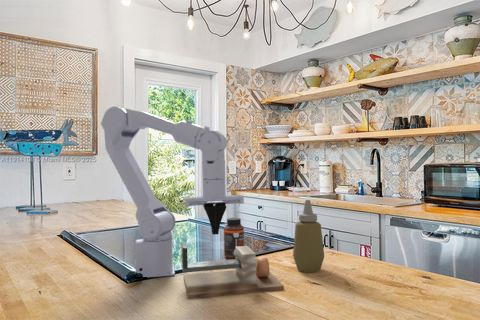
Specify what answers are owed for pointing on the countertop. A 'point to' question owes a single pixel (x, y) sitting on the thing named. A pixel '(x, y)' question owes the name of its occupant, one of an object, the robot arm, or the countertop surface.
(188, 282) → the stand
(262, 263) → the block
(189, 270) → the grey l-shaped bar
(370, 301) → the countertop surface
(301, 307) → the countertop surface
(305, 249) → the squeeze bottle
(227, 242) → the supplement bottle
